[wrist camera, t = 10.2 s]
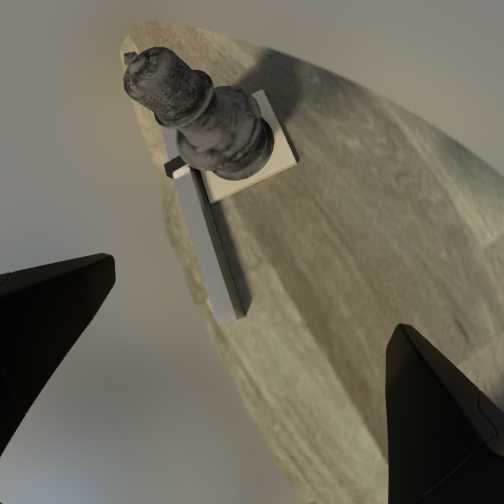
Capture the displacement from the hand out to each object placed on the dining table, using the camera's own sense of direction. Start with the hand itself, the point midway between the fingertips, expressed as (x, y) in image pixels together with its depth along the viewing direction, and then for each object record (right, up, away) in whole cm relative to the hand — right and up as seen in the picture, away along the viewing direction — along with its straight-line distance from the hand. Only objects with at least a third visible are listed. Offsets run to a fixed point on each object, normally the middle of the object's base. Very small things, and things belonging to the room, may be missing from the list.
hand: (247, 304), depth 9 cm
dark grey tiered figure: (-1, +9, +13) cm, 16 cm away
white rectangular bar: (-3, +4, +14) cm, 15 cm away
